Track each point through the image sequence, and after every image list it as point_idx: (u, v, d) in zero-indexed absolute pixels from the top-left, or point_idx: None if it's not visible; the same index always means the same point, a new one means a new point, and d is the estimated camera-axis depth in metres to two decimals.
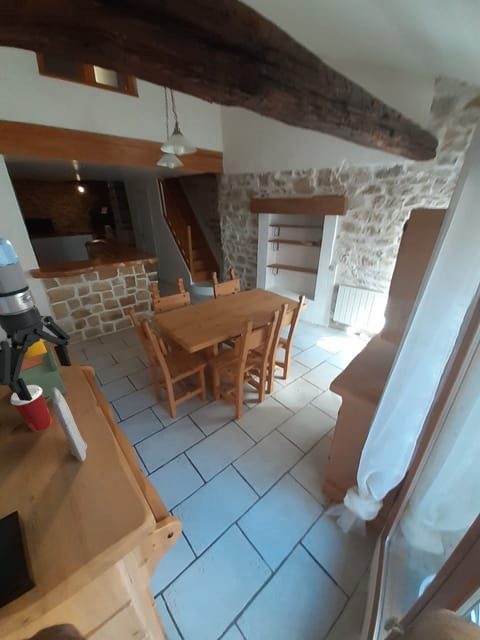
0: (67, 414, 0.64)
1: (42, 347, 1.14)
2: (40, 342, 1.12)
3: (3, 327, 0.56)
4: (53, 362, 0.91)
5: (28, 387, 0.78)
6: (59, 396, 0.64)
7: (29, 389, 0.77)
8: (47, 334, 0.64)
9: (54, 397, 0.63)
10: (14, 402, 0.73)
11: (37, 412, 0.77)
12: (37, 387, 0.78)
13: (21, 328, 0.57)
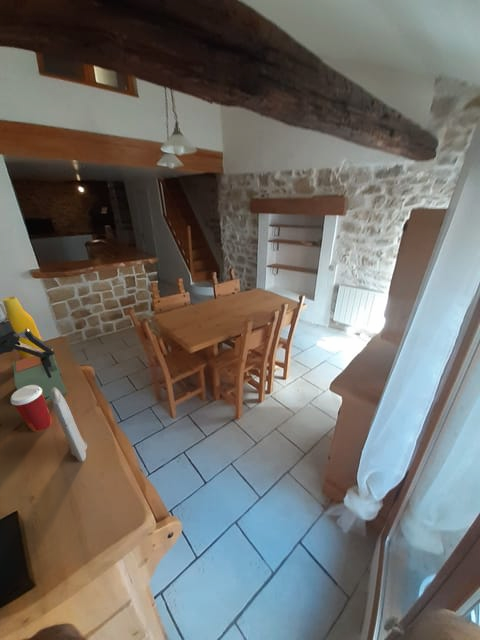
0: (67, 414, 0.64)
1: None
2: None
3: None
4: (53, 362, 0.91)
5: (28, 387, 0.78)
6: (59, 396, 0.64)
7: (29, 389, 0.77)
8: (19, 347, 0.69)
9: (54, 397, 0.64)
10: (14, 402, 0.73)
11: (37, 412, 0.77)
12: (37, 387, 0.78)
13: None
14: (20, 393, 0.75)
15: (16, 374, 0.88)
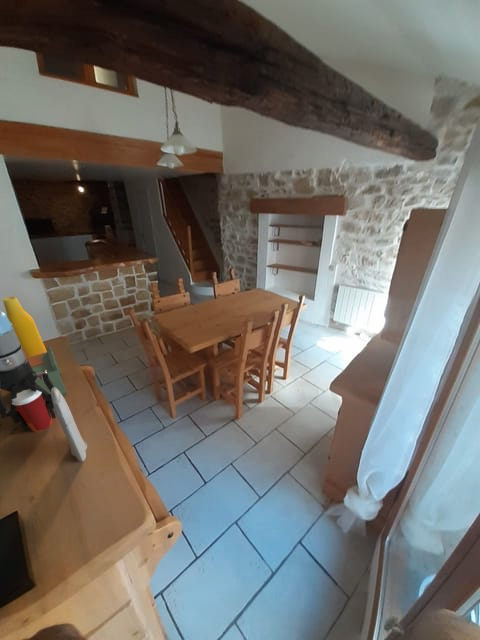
0: (67, 414, 0.64)
1: (42, 347, 1.14)
2: (40, 342, 1.12)
3: None
4: (53, 362, 0.91)
5: None
6: (59, 396, 0.64)
7: (29, 389, 0.77)
8: (34, 388, 0.75)
9: (54, 397, 0.63)
10: (14, 402, 0.73)
11: (37, 412, 0.77)
12: None
13: (3, 382, 0.69)
14: (20, 393, 0.75)
15: None
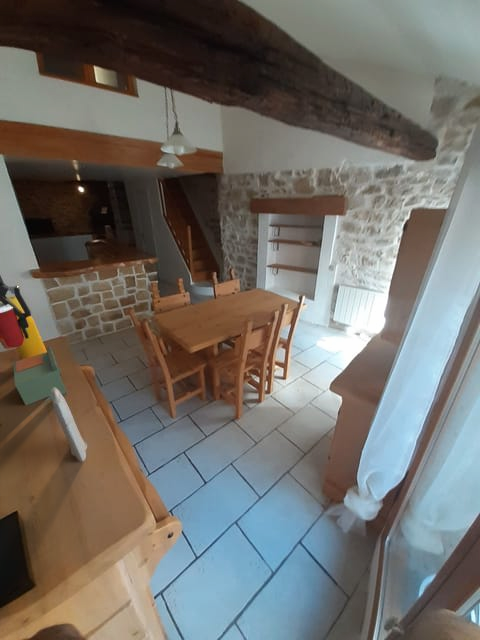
0: (67, 414, 0.64)
1: (42, 347, 1.14)
2: (40, 342, 1.12)
3: None
4: (53, 362, 0.91)
5: (0, 302, 0.78)
6: (59, 396, 0.64)
7: (0, 303, 0.77)
8: (4, 300, 0.75)
9: (54, 397, 0.63)
10: None
11: (8, 326, 0.77)
12: None
13: None
14: None
15: (16, 374, 0.88)
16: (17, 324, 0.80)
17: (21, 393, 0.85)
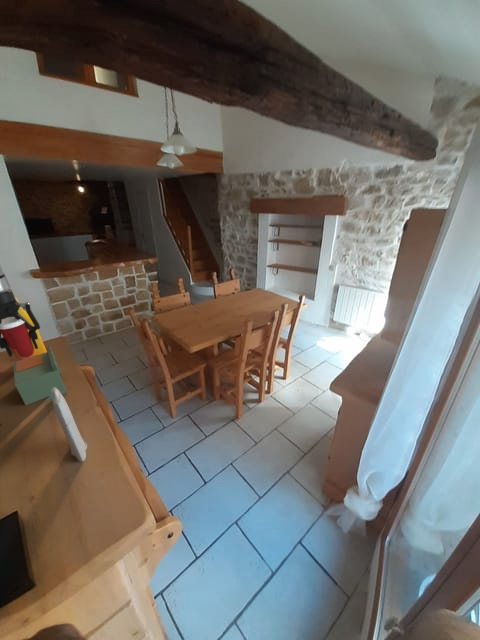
0: (67, 414, 0.64)
1: (42, 347, 1.14)
2: (40, 342, 1.12)
3: None
4: (53, 362, 0.91)
5: (12, 317, 0.87)
6: (59, 396, 0.64)
7: (13, 318, 0.86)
8: (17, 316, 0.85)
9: (54, 397, 0.63)
10: None
11: (20, 338, 0.87)
12: None
13: None
14: (5, 320, 0.85)
15: (16, 374, 0.88)
16: (28, 336, 0.89)
17: (21, 393, 0.85)
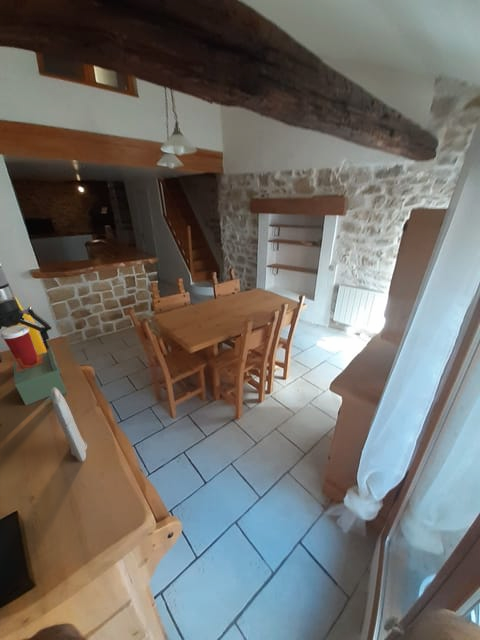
0: (67, 414, 0.64)
1: (42, 347, 1.14)
2: (40, 342, 1.12)
3: None
4: (53, 362, 0.91)
5: (17, 326, 0.89)
6: (59, 396, 0.64)
7: (17, 328, 0.88)
8: (23, 322, 0.87)
9: (54, 397, 0.63)
10: (4, 336, 0.84)
11: (24, 347, 0.88)
12: (25, 326, 0.89)
13: None
14: (9, 330, 0.87)
15: (16, 374, 0.88)
16: (32, 345, 0.91)
17: (21, 393, 0.85)
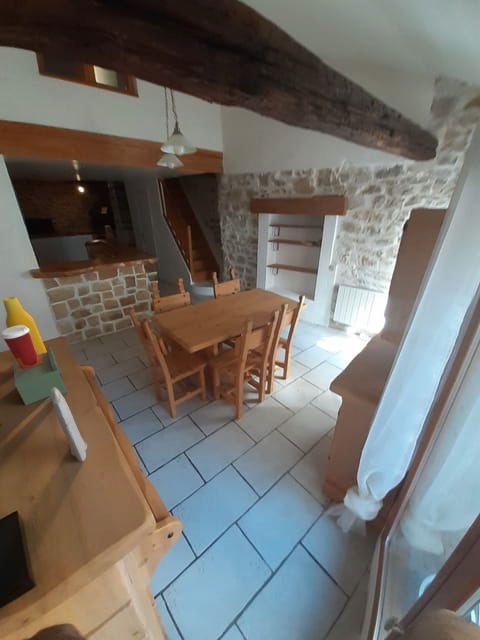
0: (67, 414, 0.64)
1: (42, 347, 1.14)
2: (40, 342, 1.12)
3: None
4: (53, 362, 0.91)
5: (17, 326, 0.89)
6: (59, 396, 0.64)
7: (17, 328, 0.88)
8: None
9: (54, 397, 0.63)
10: (4, 336, 0.84)
11: (24, 347, 0.88)
12: (25, 326, 0.89)
13: None
14: (9, 330, 0.87)
15: (16, 374, 0.88)
16: (32, 345, 0.91)
17: (21, 393, 0.85)
